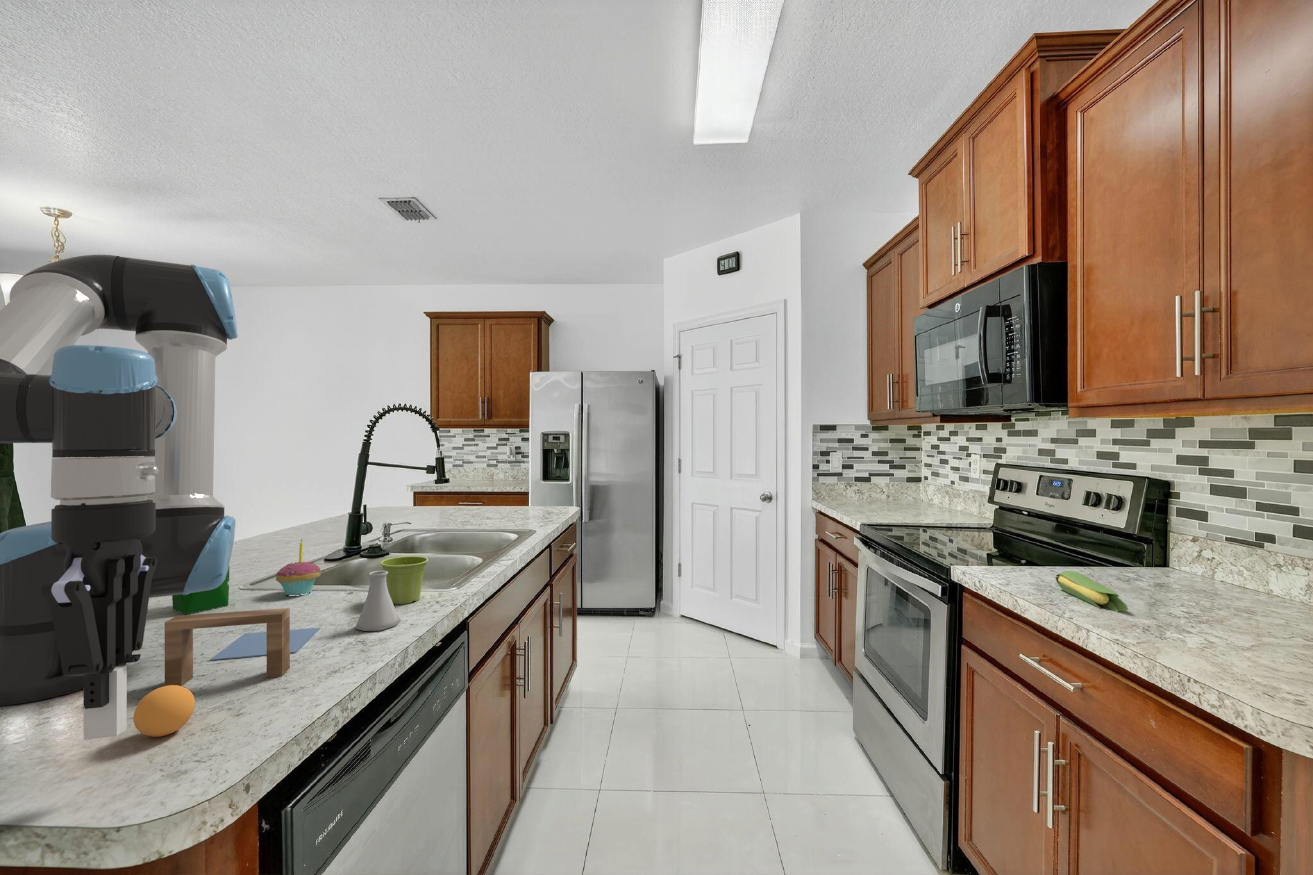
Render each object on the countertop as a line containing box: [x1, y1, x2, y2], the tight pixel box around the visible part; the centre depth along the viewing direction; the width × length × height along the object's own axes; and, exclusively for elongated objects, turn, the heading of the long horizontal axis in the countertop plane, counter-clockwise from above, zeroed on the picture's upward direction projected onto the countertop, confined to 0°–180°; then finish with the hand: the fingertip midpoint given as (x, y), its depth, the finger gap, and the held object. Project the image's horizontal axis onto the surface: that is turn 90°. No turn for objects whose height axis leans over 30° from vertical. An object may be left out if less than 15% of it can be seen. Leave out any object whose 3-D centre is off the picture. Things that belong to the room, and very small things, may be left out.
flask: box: [354, 570, 401, 632], centre depth 104 cm, size 7×7×10 cm
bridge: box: [164, 607, 291, 687], centre depth 82 cm, size 3×14×9 cm, turn 105°
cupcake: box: [275, 538, 321, 596], centre depth 125 cm, size 9×8×12 cm
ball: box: [132, 685, 196, 738], centre depth 66 cm, size 6×6×6 cm
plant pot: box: [380, 555, 429, 605], centre depth 120 cm, size 9×9×9 cm
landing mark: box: [209, 627, 321, 662], centre depth 95 cm, size 12×12×1 cm
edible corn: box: [1055, 570, 1129, 613], centre depth 119 cm, size 5×20×5 cm
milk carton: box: [171, 566, 230, 615], centre depth 116 cm, size 9×9×20 cm
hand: (105, 733), depth 56 cm, fingers closed
